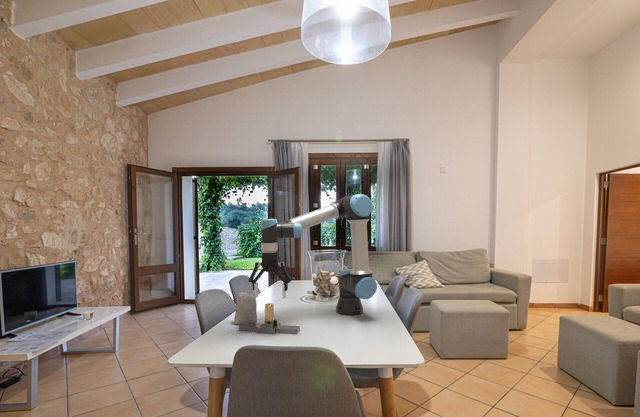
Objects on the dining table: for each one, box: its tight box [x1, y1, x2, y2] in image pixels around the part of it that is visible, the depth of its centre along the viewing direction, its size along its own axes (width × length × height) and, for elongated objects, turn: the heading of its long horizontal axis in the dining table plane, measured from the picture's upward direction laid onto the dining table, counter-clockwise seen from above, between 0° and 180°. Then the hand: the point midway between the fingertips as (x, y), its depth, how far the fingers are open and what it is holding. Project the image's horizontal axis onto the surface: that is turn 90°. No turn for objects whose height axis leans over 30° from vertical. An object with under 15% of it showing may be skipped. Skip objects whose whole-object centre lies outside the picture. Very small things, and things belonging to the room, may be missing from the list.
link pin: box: [264, 303, 275, 328], centre depth 149 cm, size 4×4×12 cm
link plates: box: [238, 319, 301, 335], centre depth 149 cm, size 28×8×4 cm, turn 80°
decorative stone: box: [233, 291, 258, 325], centre depth 159 cm, size 11×6×15 cm, turn 87°
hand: (270, 297), depth 149 cm, fingers open, 13 cm apart
